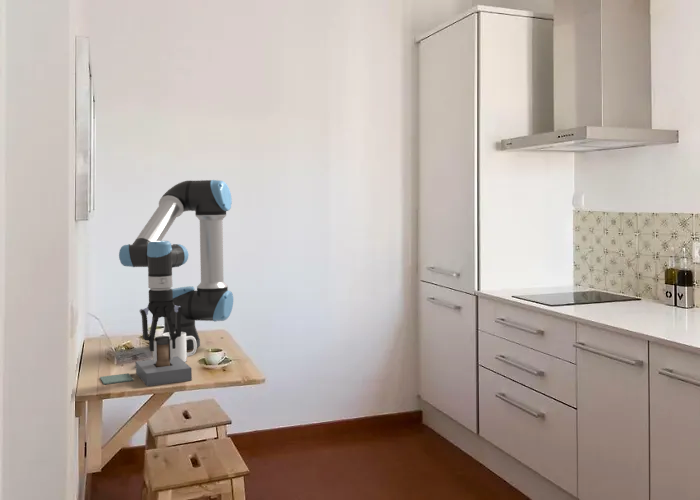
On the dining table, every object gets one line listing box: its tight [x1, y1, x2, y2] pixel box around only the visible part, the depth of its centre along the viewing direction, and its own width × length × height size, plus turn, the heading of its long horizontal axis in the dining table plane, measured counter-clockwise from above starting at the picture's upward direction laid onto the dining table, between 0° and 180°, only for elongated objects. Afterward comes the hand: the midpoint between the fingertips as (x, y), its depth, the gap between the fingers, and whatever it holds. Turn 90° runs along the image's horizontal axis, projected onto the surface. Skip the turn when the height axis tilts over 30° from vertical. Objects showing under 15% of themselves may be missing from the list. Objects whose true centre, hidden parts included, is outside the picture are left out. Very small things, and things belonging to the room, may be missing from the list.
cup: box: [161, 332, 198, 363], centre depth 244 cm, size 8×12×10 cm
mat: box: [99, 372, 135, 386], centre depth 220 cm, size 9×9×1 cm
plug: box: [154, 335, 170, 367], centre depth 223 cm, size 4×4×13 cm
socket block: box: [135, 356, 193, 387], centre depth 223 cm, size 18×14×4 cm
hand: (162, 359), depth 223 cm, fingers closed on plug, 4 cm apart
